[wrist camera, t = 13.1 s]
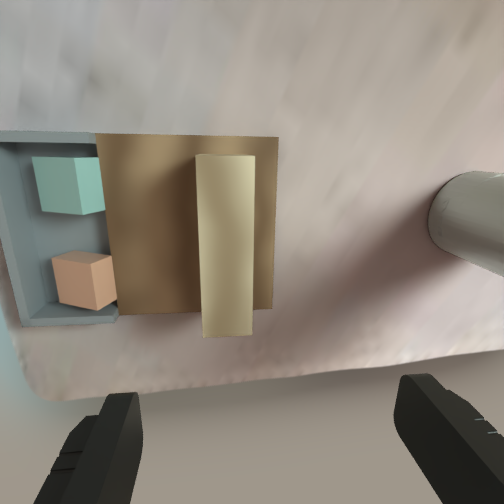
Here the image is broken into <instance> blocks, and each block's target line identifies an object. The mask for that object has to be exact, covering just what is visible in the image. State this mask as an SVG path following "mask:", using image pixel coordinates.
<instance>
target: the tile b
mask: <svg viewBox="0 0 504 504" xmlns="http://www.w3.org/2000/svg"><path fill="white" fill-rule="evenodd" d="M51 259H52V264H53V269H54V275H55V280H56V285H57V290H58V295H59V300H60V303H64V304H69V305H73V306H78V307H83V308H87V309H92V310H97V311H98V310H100V309H101V308H103V307H105V306H106V305H108V304H110V303H111V302H113V301H115V300H116V299H117V294H116V286H115V279H114V271H113V263H112V256H111V255H104V254H97V253H90V252H83V251H76V250H73V251H70V252H68V253H65V254H62V255H59V256H56V257H53V258H51Z"/></svg>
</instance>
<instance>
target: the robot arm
mask: <svg viewBox="0 0 504 504" xmlns="http://www.w3.org/2000/svg"><path fill="white" fill-rule="evenodd" d="M428 227H429V233H430V235H431V238H432V240H433V241H434V243H435V244H436V245H437V246H438V247H440V248H441V249H442V250H445V251H447V252H449V253H451V254H453V255H456V256H458V257H460V258H462V259H465V260H467V261H469V262H471V263H473V264H475V265H478V266H480V267H482V268H485V269H487V270H489V271H491V272H494V273H496V274H498V275H500V276H503V277H504V173H494V172H482V171H473V172H468V173H464V174H462V175H459V176H457V177H455V178H454V179H452V180H451V181H449V182H448V183H447V184H446V185H445V186H444V187H443V188H442V189H441V190H440V192H439V193H438V194H437V196H436V197H435V199H434V201H433V203H432V205H431V208H430V212H429V217H428ZM394 423H395V427H396V430H397V432H398V434H399V436H400V438H401V439H402V441H403V442H404V444H405V446H406V447H407V449H408V450H409V452H410V453H411V455H412V456H413V458H414V459H415V461H416V463H417V464H418V466H419V467H420V469H421V470H422V472H423V473H424V475H425V477H426V478H427V480H428V481H429V483H430V484H431V486H432V488H433V489H434V491H435V492H436V494H437V495H438V497H439V498H440V500H441V502H442V503H443V504H504V437H503V436H502V435H501V434H498V433H497V430H496V429H495V428H494V427H493V426H492V425H491V424H490V423H489V422H488V421H485V420H484V417H483V416H482V415H481V414H480V413H479V412H478V411H477V410H476V409H475V408H474V407H473V406H472V405H471V404H470V403H469V402H467V401H466V400H464V399H462V398H461V397H459V396H458V395H457V394H455V393H453V392H452V391H450V390H446V389H445V388H443V386H442V385H441V384H440V383H439V382H438V381H437V380H436V379H435V378H434V377H433V376H432V375H430V374H427V373H424V374H409V375H403V376H402V377H401V379H400V383H399V388H398V393H397V399H396V404H395V409H394ZM142 447H143V429H142V421H141V413H140V405H139V397H138V393H137V392H130V393H115V394H109V395H108V396H107V397H106V400H105V402H104V404H103V406H102V409H101V411H100V413H99V415H93V416H86V417H85V418H84V419H83V420H82V421H81V422H80V423H79V424H78V425H77V426H76V427H75V428H74V429H73V430H72V431H71V432H70V433H69V436H68V437H67V439H66V441H65V443H64V445H63V447H62V449H61V451H60V454H59V457H57V459H56V461H55V463H54V464H53V467H52V468H51V472H50V475H48V476H47V478H46V480H45V482H44V484H43V486H42V488H41V490H40V492H39V494H38V496H37V498H36V500H35V501H34V504H130V501H131V497H132V492H133V488H134V485H135V480H136V476H137V472H138V468H139V464H140V460H141V454H142Z"/></svg>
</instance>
